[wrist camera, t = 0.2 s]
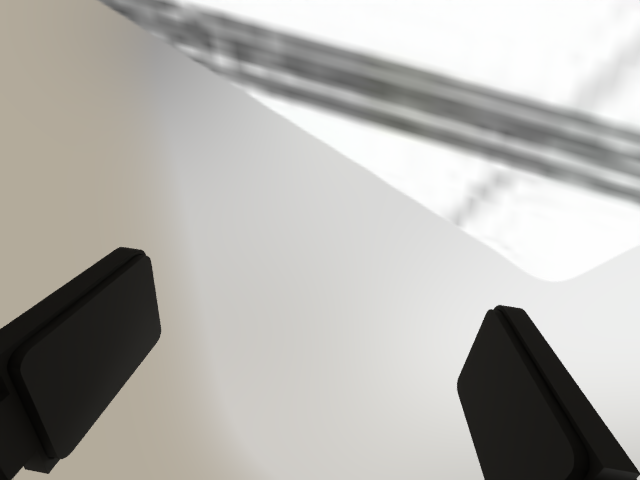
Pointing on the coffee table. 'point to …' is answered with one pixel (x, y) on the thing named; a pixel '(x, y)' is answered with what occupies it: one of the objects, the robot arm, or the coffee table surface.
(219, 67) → the coffee table surface
